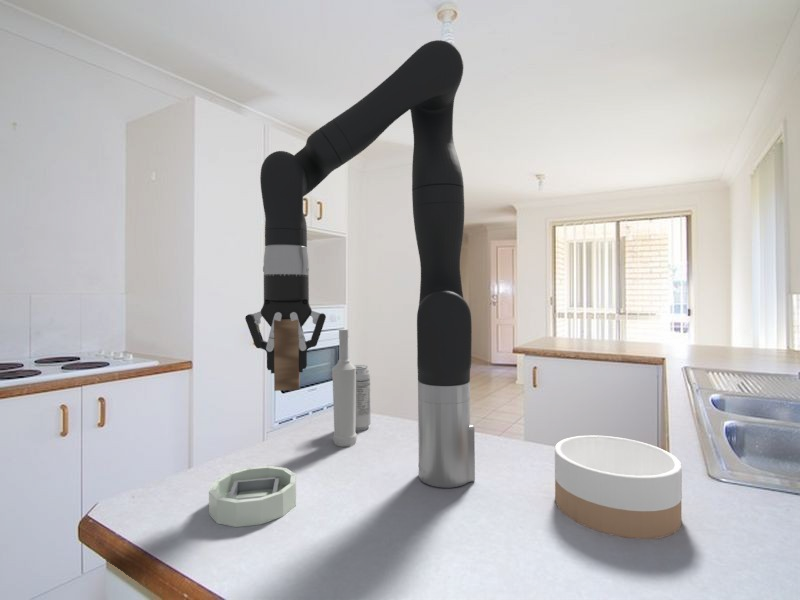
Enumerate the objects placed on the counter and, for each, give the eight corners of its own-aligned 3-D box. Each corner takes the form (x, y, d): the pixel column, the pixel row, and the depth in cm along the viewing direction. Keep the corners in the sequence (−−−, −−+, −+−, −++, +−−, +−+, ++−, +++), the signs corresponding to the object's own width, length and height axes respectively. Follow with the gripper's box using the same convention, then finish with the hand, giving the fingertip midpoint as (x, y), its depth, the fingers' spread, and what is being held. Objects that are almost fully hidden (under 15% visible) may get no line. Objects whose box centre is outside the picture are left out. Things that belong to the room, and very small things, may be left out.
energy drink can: (359, 422, 111) (358, 363, 110) (375, 427, 106) (375, 366, 106) (340, 427, 106) (340, 366, 106) (357, 433, 102) (356, 369, 102)
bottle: (352, 447, 93) (351, 330, 92) (329, 446, 94) (328, 330, 93) (359, 439, 98) (358, 328, 97) (337, 438, 99) (336, 328, 98)
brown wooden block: (299, 384, 78) (299, 317, 77) (298, 389, 74) (298, 319, 74) (276, 385, 77) (276, 318, 77) (274, 390, 73) (273, 319, 73)
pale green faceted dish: (297, 483, 75) (297, 463, 75) (294, 520, 63) (294, 496, 63) (220, 490, 73) (219, 470, 73) (201, 531, 61) (201, 506, 61)
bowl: (697, 509, 65) (698, 454, 65) (656, 556, 54) (656, 490, 54) (585, 474, 78) (585, 428, 78) (533, 506, 67) (533, 452, 67)
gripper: (327, 274, 80) (328, 367, 80) (246, 273, 77) (247, 369, 78) (328, 272, 73) (329, 374, 73) (239, 272, 70) (240, 378, 70)
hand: (287, 371), depth 75 cm, fingers closed on brown wooden block, 4 cm apart
